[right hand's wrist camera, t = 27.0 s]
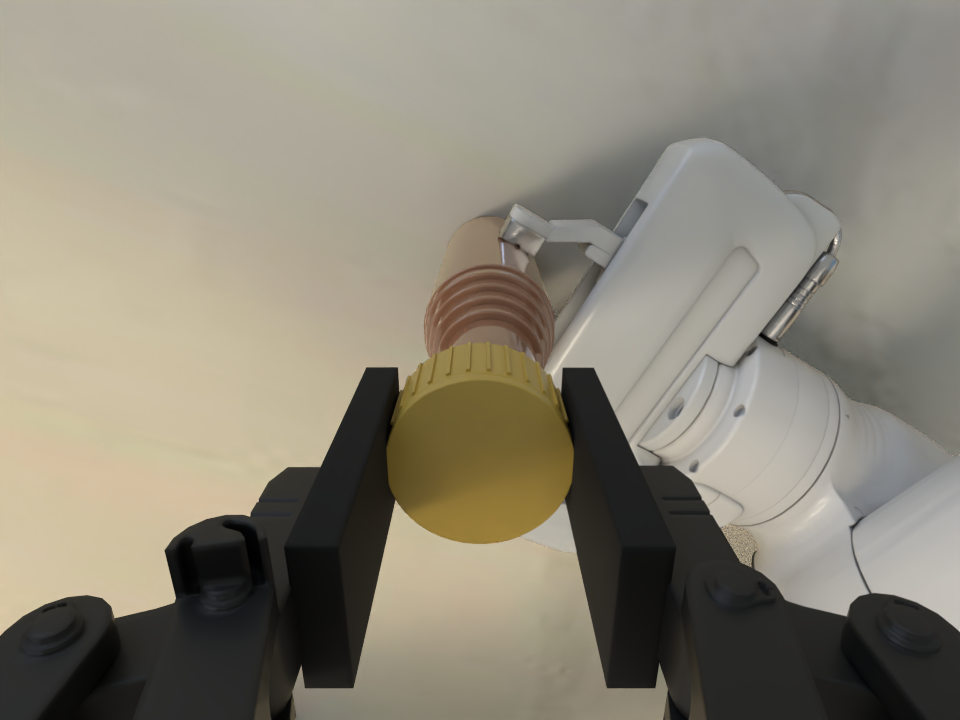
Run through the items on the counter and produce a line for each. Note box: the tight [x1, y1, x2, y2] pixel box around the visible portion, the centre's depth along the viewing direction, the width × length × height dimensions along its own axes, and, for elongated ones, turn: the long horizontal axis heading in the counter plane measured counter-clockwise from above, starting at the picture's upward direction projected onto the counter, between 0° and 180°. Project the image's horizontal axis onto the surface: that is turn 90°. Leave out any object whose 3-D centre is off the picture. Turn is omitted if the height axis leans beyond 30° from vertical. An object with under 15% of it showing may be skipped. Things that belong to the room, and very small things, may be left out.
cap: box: [386, 342, 574, 544], centre depth 14 cm, size 4×4×2 cm
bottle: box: [424, 216, 555, 370], centre depth 24 cm, size 5×5×18 cm
